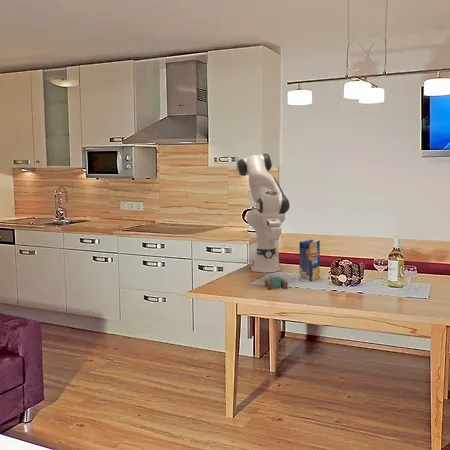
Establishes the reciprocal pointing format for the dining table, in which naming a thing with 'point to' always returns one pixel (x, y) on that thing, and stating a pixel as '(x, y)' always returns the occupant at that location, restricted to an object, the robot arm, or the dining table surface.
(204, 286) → the dining table surface
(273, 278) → the block
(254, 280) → the dining table surface
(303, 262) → the beverage box
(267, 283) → the chute
